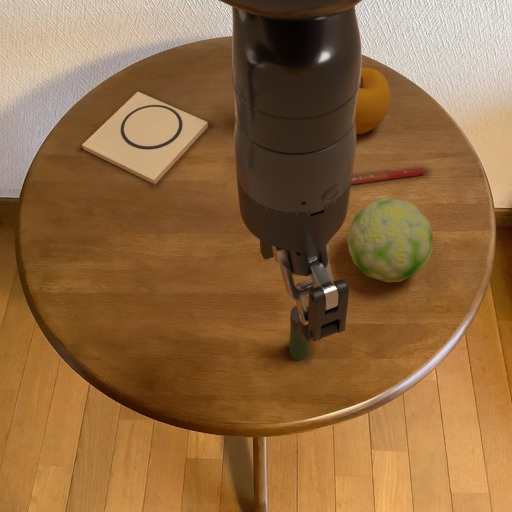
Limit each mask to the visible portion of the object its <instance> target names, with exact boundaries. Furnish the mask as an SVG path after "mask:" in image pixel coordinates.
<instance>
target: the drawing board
mask: <svg viewBox="0 0 512 512" xmlns="http://www.w3.org/2000/svg"><path fill="white" fill-rule="evenodd" d="M208 128H209V122H208V121H206V120H204V119H202V118H200V117H198V116H195V115H194V114H190V113H188V112H185V111H184V110H182V109H179V108H177V107H174V106H172V105H170V104H167V103H166V102H162V101H161V100H158V99H156V98H154V97H151V96H149V95H147V94H145V93H142V92H140V91H136V92H135V94H133V95H132V96H131V97H130V98H129V99H128V100H127V101H126V102H125V103H124V104H123V105H121V107H120V108H119V109H117V110H116V111H115V113H114V114H113V115H111V117H109V118H108V119H107V120H106V121H105V122H104V123H103V124H102V125H101V126H99V128H98V129H97V130H95V132H94V133H93V134H92V135H91V136H90V137H88V138H87V139H86V140H85V141H84V142H83V143H82V144H81V147H82V149H83V150H84V151H86V152H88V153H90V154H92V155H94V156H96V157H98V158H100V159H102V160H103V161H106V162H108V163H110V164H112V165H114V166H116V167H118V168H120V169H123V170H124V171H127V172H128V173H130V174H132V175H134V176H137V177H139V178H140V179H143V180H145V181H146V182H149V183H150V184H152V185H156V184H157V183H158V182H159V181H160V180H161V178H163V176H164V175H165V174H166V173H167V172H168V171H169V170H170V169H171V168H172V166H174V164H175V163H176V162H177V161H178V160H179V159H180V158H182V156H183V155H184V154H185V153H186V152H187V150H189V149H190V147H191V146H192V145H193V144H194V143H195V142H196V141H197V140H198V138H199V137H200V136H201V135H202V134H203V133H204V132H205V131H206V130H207V129H208Z"/></svg>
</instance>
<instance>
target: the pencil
mask: <svg viewBox="0 0 512 512" xmlns="http://www.w3.org/2000/svg"><path fill="white" fill-rule="evenodd" d="M425 174H426V170H425V168H424V167H420V168H419V167H418V168H413V169H412V168H411V169H405V170H397V171H391V172H390V171H389V172H381V173H375V174H367V175H359V176H352V181H351V186H352V185H353V186H354V185H359V184H368V183H375V182H383V181H389V180H397V179H404V178H405V179H406V178H411V177H418V176H424V175H425Z"/></svg>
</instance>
